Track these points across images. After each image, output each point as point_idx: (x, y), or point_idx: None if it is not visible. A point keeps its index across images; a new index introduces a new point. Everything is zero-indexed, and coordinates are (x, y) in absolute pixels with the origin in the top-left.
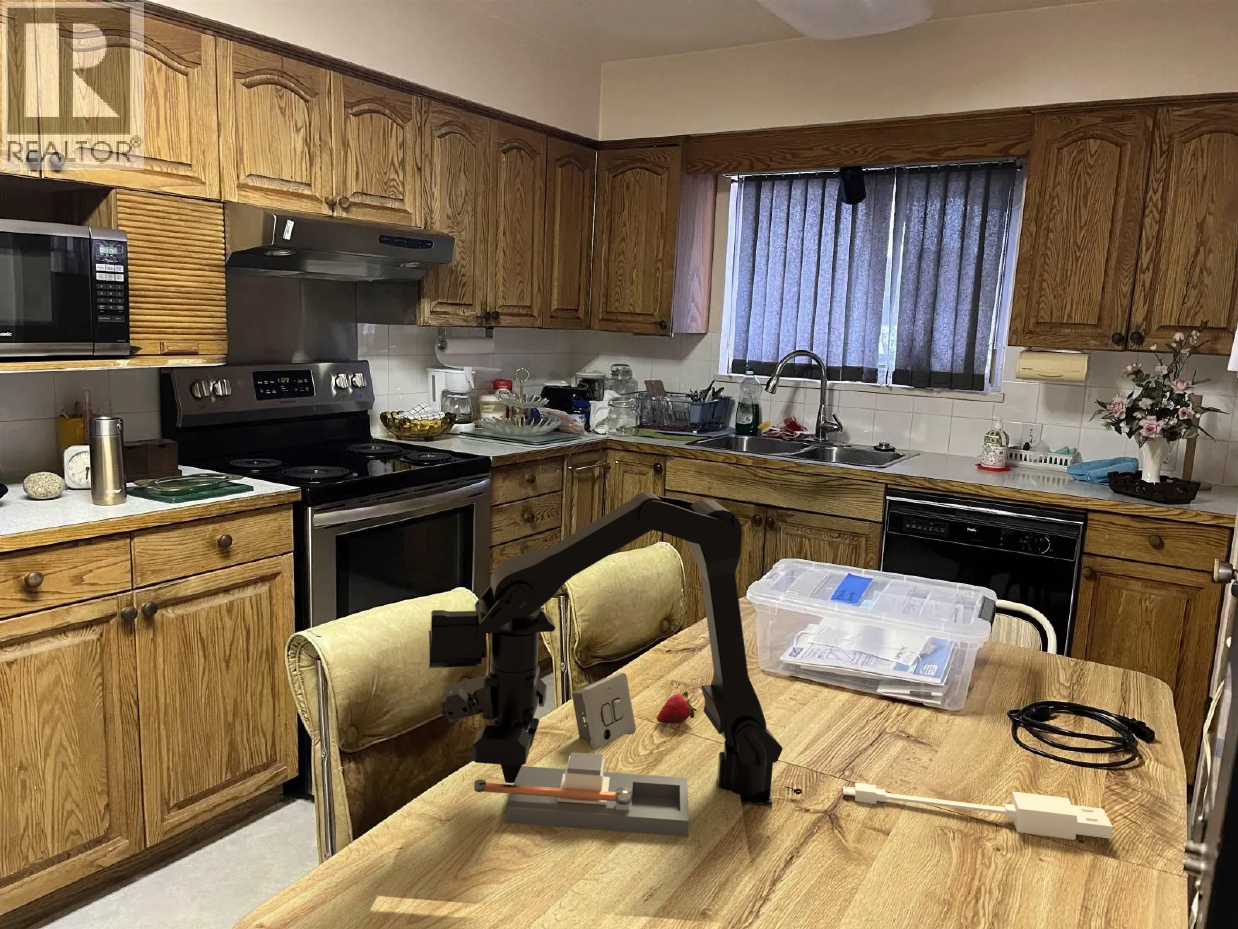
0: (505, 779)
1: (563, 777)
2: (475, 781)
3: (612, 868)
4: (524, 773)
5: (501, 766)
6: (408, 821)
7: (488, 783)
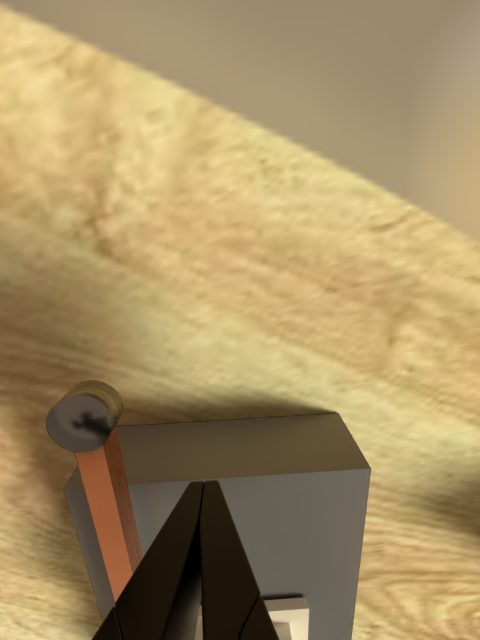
0: (184, 495)
1: (283, 614)
2: (79, 404)
3: (41, 634)
4: (314, 495)
5: (134, 571)
6: (39, 86)
7: (98, 457)
